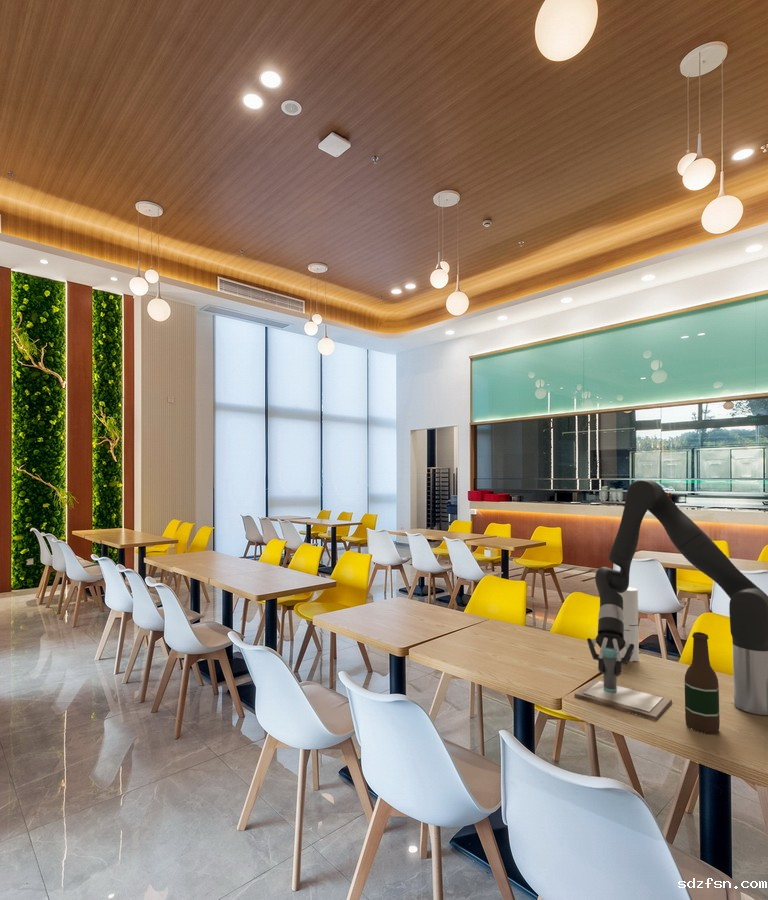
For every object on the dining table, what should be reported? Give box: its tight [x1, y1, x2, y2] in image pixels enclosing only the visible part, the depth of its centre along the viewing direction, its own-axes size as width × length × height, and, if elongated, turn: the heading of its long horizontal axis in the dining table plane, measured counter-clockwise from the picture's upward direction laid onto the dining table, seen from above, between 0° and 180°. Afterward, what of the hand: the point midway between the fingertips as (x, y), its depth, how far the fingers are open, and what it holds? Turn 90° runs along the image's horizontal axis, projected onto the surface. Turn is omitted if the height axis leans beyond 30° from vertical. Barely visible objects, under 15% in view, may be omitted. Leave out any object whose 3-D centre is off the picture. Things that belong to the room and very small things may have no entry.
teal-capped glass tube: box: [602, 647, 618, 693], centre depth 156 cm, size 4×4×12 cm
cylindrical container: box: [617, 586, 640, 662], centre depth 190 cm, size 7×7×25 cm
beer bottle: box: [684, 631, 721, 735], centre depth 136 cm, size 8×8×24 cm
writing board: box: [574, 678, 673, 721], centre depth 152 cm, size 22×16×1 cm
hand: (609, 673), depth 154 cm, fingers closed on teal-capped glass tube, 3 cm apart
